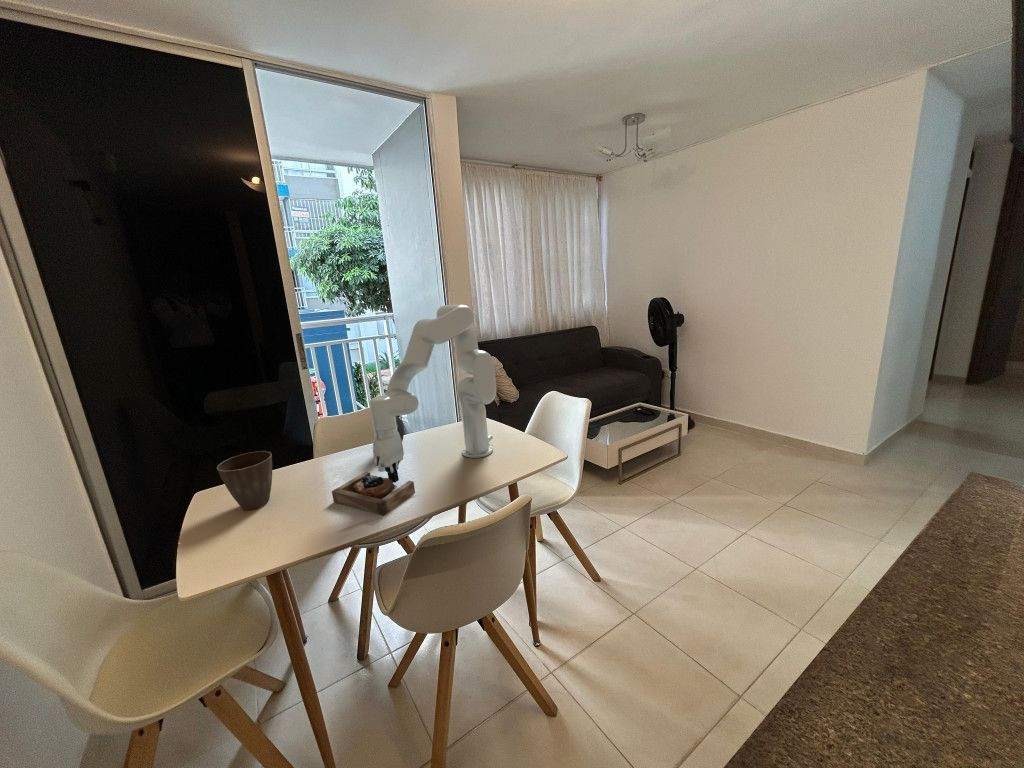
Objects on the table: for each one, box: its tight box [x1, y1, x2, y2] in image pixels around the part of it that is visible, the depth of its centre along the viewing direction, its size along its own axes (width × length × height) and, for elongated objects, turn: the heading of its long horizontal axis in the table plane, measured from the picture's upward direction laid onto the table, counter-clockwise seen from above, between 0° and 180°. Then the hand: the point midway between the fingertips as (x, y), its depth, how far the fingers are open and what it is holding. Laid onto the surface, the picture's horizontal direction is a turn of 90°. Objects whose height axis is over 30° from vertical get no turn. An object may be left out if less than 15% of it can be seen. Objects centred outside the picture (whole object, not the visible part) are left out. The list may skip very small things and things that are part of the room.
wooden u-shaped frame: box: [331, 471, 416, 516], centre depth 128 cm, size 14×22×4 cm, turn 63°
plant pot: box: [216, 450, 273, 511], centre depth 128 cm, size 15×15×16 cm
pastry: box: [353, 474, 395, 499], centre depth 131 cm, size 11×12×6 cm
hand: (393, 480), depth 136 cm, fingers closed
